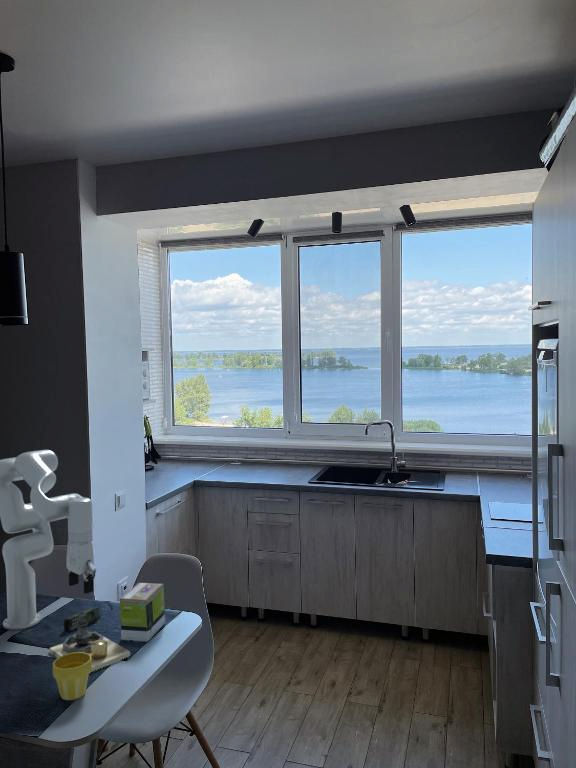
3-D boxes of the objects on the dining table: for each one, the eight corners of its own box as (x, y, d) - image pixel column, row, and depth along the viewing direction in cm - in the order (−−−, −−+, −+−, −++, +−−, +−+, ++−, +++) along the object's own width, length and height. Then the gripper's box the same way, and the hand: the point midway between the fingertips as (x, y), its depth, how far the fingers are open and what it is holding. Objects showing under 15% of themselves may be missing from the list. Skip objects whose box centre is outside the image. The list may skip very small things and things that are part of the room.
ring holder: (57, 646, 194) (57, 640, 194) (90, 634, 203) (90, 628, 203) (75, 658, 186) (75, 651, 186) (108, 645, 195) (108, 639, 195)
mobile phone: (66, 620, 208) (103, 604, 220) (61, 617, 210) (98, 602, 222) (67, 634, 208) (103, 618, 220) (62, 631, 210) (98, 616, 222)
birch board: (49, 652, 194) (49, 648, 193) (94, 635, 205) (94, 631, 205) (83, 675, 179) (83, 670, 179) (130, 656, 190) (130, 651, 190)
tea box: (139, 621, 216) (139, 581, 216) (165, 623, 214) (165, 583, 214) (120, 640, 202) (119, 597, 201) (147, 642, 200) (146, 599, 199)
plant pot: (64, 683, 174) (63, 650, 174) (98, 685, 173) (97, 651, 173) (46, 703, 164) (45, 668, 164) (82, 705, 163) (81, 670, 163)
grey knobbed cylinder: (86, 650, 191) (85, 613, 191) (69, 649, 192) (69, 612, 192) (95, 642, 197) (95, 606, 197) (79, 641, 198) (78, 605, 198)
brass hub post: (87, 656, 188) (87, 643, 188) (102, 650, 191) (102, 638, 191) (96, 661, 184) (95, 648, 184) (110, 655, 188) (110, 642, 188)
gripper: (56, 533, 197) (57, 584, 197) (83, 544, 185) (83, 599, 186) (78, 529, 202) (78, 578, 203) (104, 539, 190) (105, 592, 191)
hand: (81, 588), depth 194 cm, fingers open, 9 cm apart
